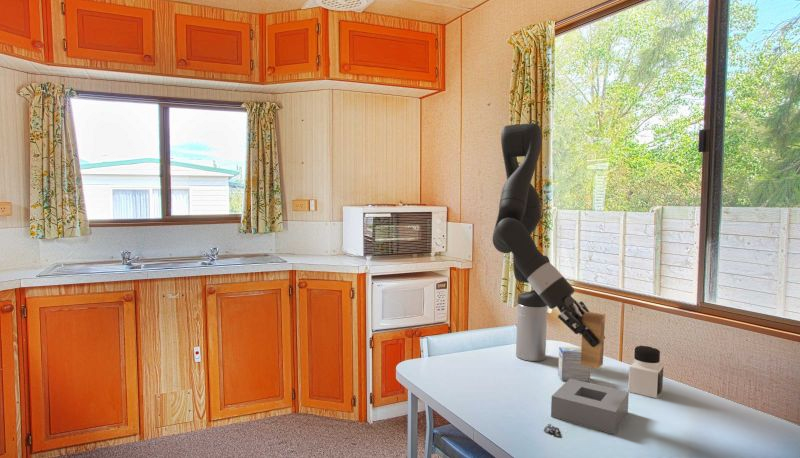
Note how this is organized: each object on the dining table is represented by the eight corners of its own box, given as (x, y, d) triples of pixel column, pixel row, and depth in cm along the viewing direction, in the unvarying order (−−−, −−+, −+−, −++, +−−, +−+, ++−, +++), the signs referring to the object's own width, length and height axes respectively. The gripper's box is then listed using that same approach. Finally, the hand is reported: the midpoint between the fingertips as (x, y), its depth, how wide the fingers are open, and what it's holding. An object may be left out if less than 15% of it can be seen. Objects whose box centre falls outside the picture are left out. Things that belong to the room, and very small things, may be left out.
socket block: (569, 397, 126) (570, 378, 126) (627, 412, 118) (628, 391, 117) (550, 416, 115) (551, 395, 114) (614, 434, 106) (615, 412, 106)
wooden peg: (585, 360, 118) (587, 311, 117) (602, 364, 116) (605, 314, 115) (580, 364, 115) (582, 314, 114) (598, 368, 113) (600, 317, 112)
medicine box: (585, 376, 141) (586, 347, 140) (590, 382, 136) (591, 352, 136) (557, 375, 142) (558, 346, 141) (561, 381, 137) (562, 351, 137)
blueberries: (557, 426, 112) (557, 417, 112) (579, 439, 104) (579, 430, 104) (531, 429, 110) (531, 421, 110) (552, 443, 102) (552, 434, 102)
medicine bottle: (657, 399, 126) (659, 353, 125) (627, 392, 130) (629, 347, 129) (662, 390, 131) (664, 347, 131) (633, 384, 136) (635, 341, 135)
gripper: (551, 279, 113) (604, 340, 107) (570, 272, 124) (619, 327, 118) (528, 298, 116) (578, 359, 110) (549, 290, 128) (595, 344, 122)
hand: (599, 342), depth 114 cm, fingers closed on wooden peg, 4 cm apart
